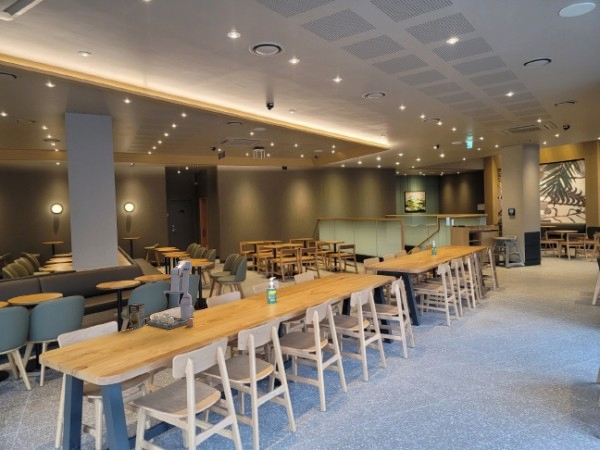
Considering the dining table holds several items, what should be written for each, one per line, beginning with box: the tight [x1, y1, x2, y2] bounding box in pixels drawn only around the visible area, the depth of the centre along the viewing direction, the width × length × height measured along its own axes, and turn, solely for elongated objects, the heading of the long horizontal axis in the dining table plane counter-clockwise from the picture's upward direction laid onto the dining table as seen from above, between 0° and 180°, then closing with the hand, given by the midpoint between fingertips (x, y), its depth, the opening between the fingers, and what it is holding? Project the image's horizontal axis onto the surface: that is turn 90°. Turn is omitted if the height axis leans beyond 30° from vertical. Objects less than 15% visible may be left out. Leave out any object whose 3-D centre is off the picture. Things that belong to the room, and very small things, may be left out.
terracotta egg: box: [186, 317, 194, 328], centre depth 297 cm, size 4×4×6 cm
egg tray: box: [146, 311, 188, 330], centre depth 304 cm, size 18×26×7 cm
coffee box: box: [127, 302, 146, 329], centre depth 300 cm, size 9×6×16 cm
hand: (174, 304), depth 292 cm, fingers open, 7 cm apart
